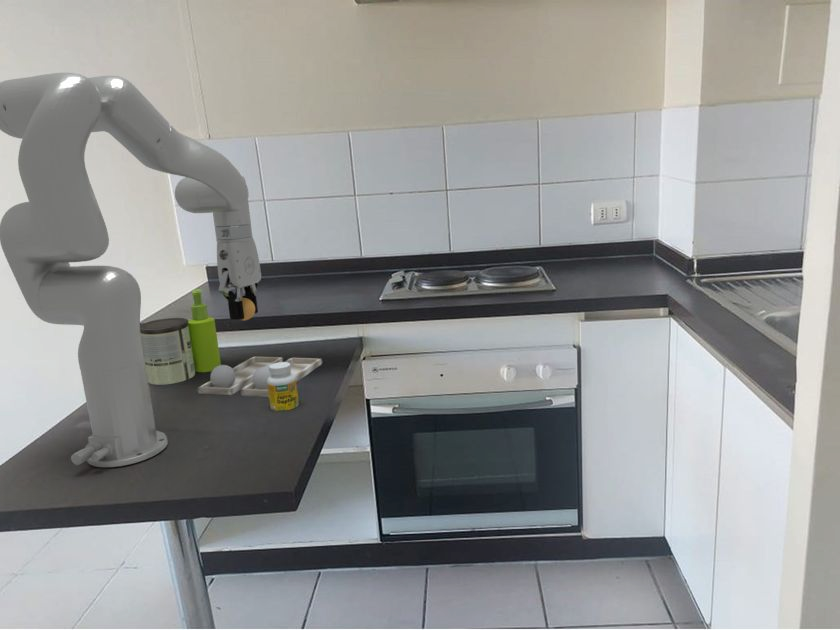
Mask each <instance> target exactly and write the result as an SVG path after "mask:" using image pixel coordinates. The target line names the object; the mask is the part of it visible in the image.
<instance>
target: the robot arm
mask: <svg viewBox="0 0 840 630" xmlns="http://www.w3.org/2000/svg"><path fill="white" fill-rule="evenodd" d="M0 131H1V132H3V133H4V134H6V135H8V136H9V137H12V138H16V139H19V140H20V139H21V141H20V145H19V150H18V156H17V157H18V159H17V161H18V163H17V165H18V173H19V176H20V180H21V182H22V185H23V188H24V191H25V194H26V196H27V199H28V201H25V202H21V203H17V204H15V205H13V206H12V207H10V208H8V210H6V212H5V213H4V214H3V216H2V218H1V220H0V246H1V249H2V252H3V253H4V256H5V259H6V261H7V263H8V266H9V268H10V271H11V272H12V274H13V276H14V278H15V281H16V284H17V285H18V288H19V289H20V291H21V294H22V296H23V298H24V299H25V302H26V304H27V305H28V307H29V309H30V310H31V312H32V313H33V315H35V316H36V317H37V319H39V320H40V321H43V322H45V323H48V324H52V325H63V326H64V325H65V326H67V325H70V326H83V330H82V331H83V332H82V335H81V338H80V341H79V344H78V349H77V358H78V359H77V361H78V365H79V369H80V370H79V371H80V376H81V380H82V385H83V391H84V396H85V402H86V406H87V407H86V408H87V412H88V418H89V422H90V428H91V433H92V434H91V435H90V436H87V441H88V443H87V444H86V445H85V447H84V448H82V449H80V450H78V451H76V452H74V453H72V454H71V456H70V460H71V462H72V463H73V464H74V465H76V466H79V465H81V464H83V463H84V462H86V463H88V465H91V466H93V467H97V468H117V467H124V466H128V465H133V464H137V463H140V462H143V461H145V460H147V459H148V460H149V459H151V458H153V457H154V456H156V455H159V454H160V453H161V452H162V451H163V450H165V448H166V447H167V445H168V442H169V441H168V436H167V434H165V433H164V432H162V431H160V430H157V427H156V423H155V415H154V410H153V405H152V397H151V392H150V385H149V383H148V379H147V372H146V366H145V360H144V355H143V349H142V341H141V332H140V325H141V308H142V307H141V305H142V302H141V300H142V295H141V294H142V293H141V288H140V285H139V283H138V281H137V280H136V278H135V277H134V276H133V275H132V274H131V273H129V272H128V271H127V270H124V269H123V268H120V267H115V266H111V265H78V266H75V265H74V266H71V265H70V263H80V262H89V261H93V260H96V259H99V258H100V257H101V256H103V255H104V254H105V253H106V252H107V249H108V248H109V244H110V243H109V242H110V238H109V233H108V228H107V225H106V222H105V218H104V216H103V214H102V211H101V208H100V205H99V203H98V201H97V198H96V197H97V196H96V195H95V193H94V189H93V186H92V184H91V182H90V178H89V175H88V172H87V167H86V162H85V154H86V153H85V152H86V147H87V144H88V141H89V138H90V136H91V133H98V132H99V133H100V132H105V133H108V134H109V135H111V137H112V138H114V139H115V140H116V141H117V142H118V143H119V144H121V146H123V147H124V149H126V150H127V151H128V152H129V153H130V154H131V155H132V156H133V157H135V158H136V159H137V160H138V161H139V163H141V164H142V165H143V166H145V167H146V168H149V169H152V170H155V171H158V172H160V173H161V172H162V173H166V174H170V175H174V176H179V177H184V178H181V179H180V180H179V181H178V182H177V184H176V186H175V188H174V198H175V201H176V203H177V205H178V206H179V207H180V208H181V209H182V210H184V211H186V212H188V213H191V214H209V213H212V217H213V223H214V232H215V233H214V234H215V239H216V241H215V242H216V263H217V275H218V281H219V286H218V291H219V293H221V294H222V295H223V296H224V298H225V301H226V302H227V305H228V313H229V314H228V315H229V319H230V320H239V321H243V320H242V319H244V311H243V303H242V301H240V298H247V299H250V300H251V301H252V302H253V303H254V305H255V313H254V314H258V312H259V310H258V301H257V294H258V290H257V288H258V283H259V282H260V281H261V279H262V272H261V264H260V260H259V259H260V258H259V253H258V250H257V249H258V248H257V245H256V242H255V239H254V237H253V230H252V222H251V221H252V220H251V213H250V205H249V204H250V203H249V188H248V185H247V181H246V179H245V178H246V177H244V176H243V175H242V174H241V173H240V171H239V170H238V169H237V168H236V167H235V165H234V164H233V163H232V162H231V161H230V160H229V159H228V158H227V157H225V156H224V154H222V153H220V152H219V151H217V150H216V149H214V148H212V147H210V146H208V145H206V144H204V143H202V142H200V141H198V140H196V139H194V138H192V137H189V136H188V135H185V134H182V133H180V131H178V130H176V129H175V128H174V126H172V124H171V123H170V122H169V121H168V120H167V119H166V118H165V117H164V116H163V115H162V114H161V113H160V111H158V109H157V108H156V107H155V105H153V104H152V103H151V102H150V101H149V100H148V99H147V98H146V96H145V95H143V93H142V92H141V91H140V90H139V89H138V88H137V87H136V86H135V85H134V83H132V82H131V81H129V80H128V79H126V78H124V77H123V76H119V75H118V76H117V75H100V76H93V77H87V76H85V75H82V74H79V73H74V72H54V73H53V72H52V73H47V74H46V73H45V74H39V75H33V76H26V77H20V78H12V79H7V80H3V81H0ZM241 289H242V292H243V295H242V297H241ZM233 291H234V292H233Z"/></svg>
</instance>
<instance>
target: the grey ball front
mask: <svg viewBox="0 0 840 630" xmlns="http://www.w3.org/2000/svg"><path fill="white" fill-rule="evenodd" d="M269 376H271V374H270V372H269V367H268V366H264V367H261V368H259V369H257V370H256V372H255V373H254V375H253V382H254V385H255V386H256V387H257V388H258V389H264V390H268V385H267V379H268V378H269Z"/></svg>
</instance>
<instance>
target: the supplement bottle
mask: <svg viewBox="0 0 840 630" xmlns="http://www.w3.org/2000/svg"><path fill="white" fill-rule="evenodd" d="M269 372H270V374H271V376H269V378H268V379H267V385H268V392H269V397H268V399H269V407H270V410H273V411H276V412H286V411H290V410H292V409H295V408H297V407H298V406H299V405H300V402H299V392H298V385H297V382H296V377H295V375H294V374H293V373H290V372H291V364H290V363H288V362H285V361H283V362H279V363H274V364H271V365H270V366H269Z"/></svg>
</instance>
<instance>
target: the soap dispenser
mask: <svg viewBox="0 0 840 630" xmlns="http://www.w3.org/2000/svg"><path fill="white" fill-rule="evenodd" d="M191 292H192V293H191V295H192V296H193V298H192V299H193V304H192V305H190V310H191V315H192V319H188V328H189V335H190V342H191V348H192V355H193V362H194V369H195V373H196V372H197V373H209V372H210V373H211V372H212V371H213V369H214V368H215V367H217V366H219V365H222V363H221V355H220V350H219V349H220V348H219V343H218V335H217V329H216V327H217V326H216V322H215V318H214V317H212V316H209V315H208V307H207V303H204V302H203V300H202V289H201V288H196V289H191Z"/></svg>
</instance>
